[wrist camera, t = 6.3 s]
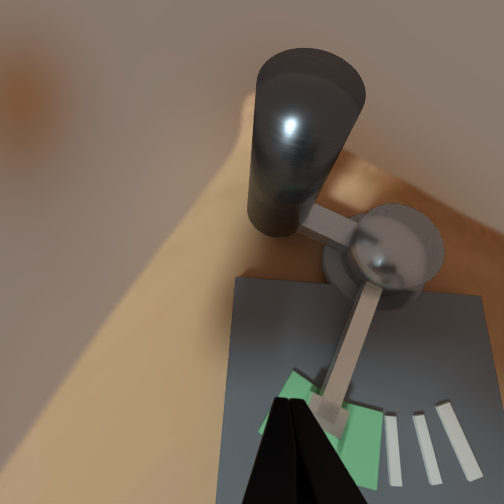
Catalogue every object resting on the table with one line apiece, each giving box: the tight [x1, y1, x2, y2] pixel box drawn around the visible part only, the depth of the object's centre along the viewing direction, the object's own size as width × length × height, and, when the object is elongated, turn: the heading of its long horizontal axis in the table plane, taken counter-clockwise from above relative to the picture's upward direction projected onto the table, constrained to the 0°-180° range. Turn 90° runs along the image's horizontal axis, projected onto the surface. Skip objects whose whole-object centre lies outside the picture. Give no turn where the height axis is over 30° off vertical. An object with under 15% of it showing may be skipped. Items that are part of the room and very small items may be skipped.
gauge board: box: [216, 214, 504, 504], centre depth 16 cm, size 17×14×1 cm
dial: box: [247, 48, 445, 439], centre depth 12 cm, size 10×12×8 cm
